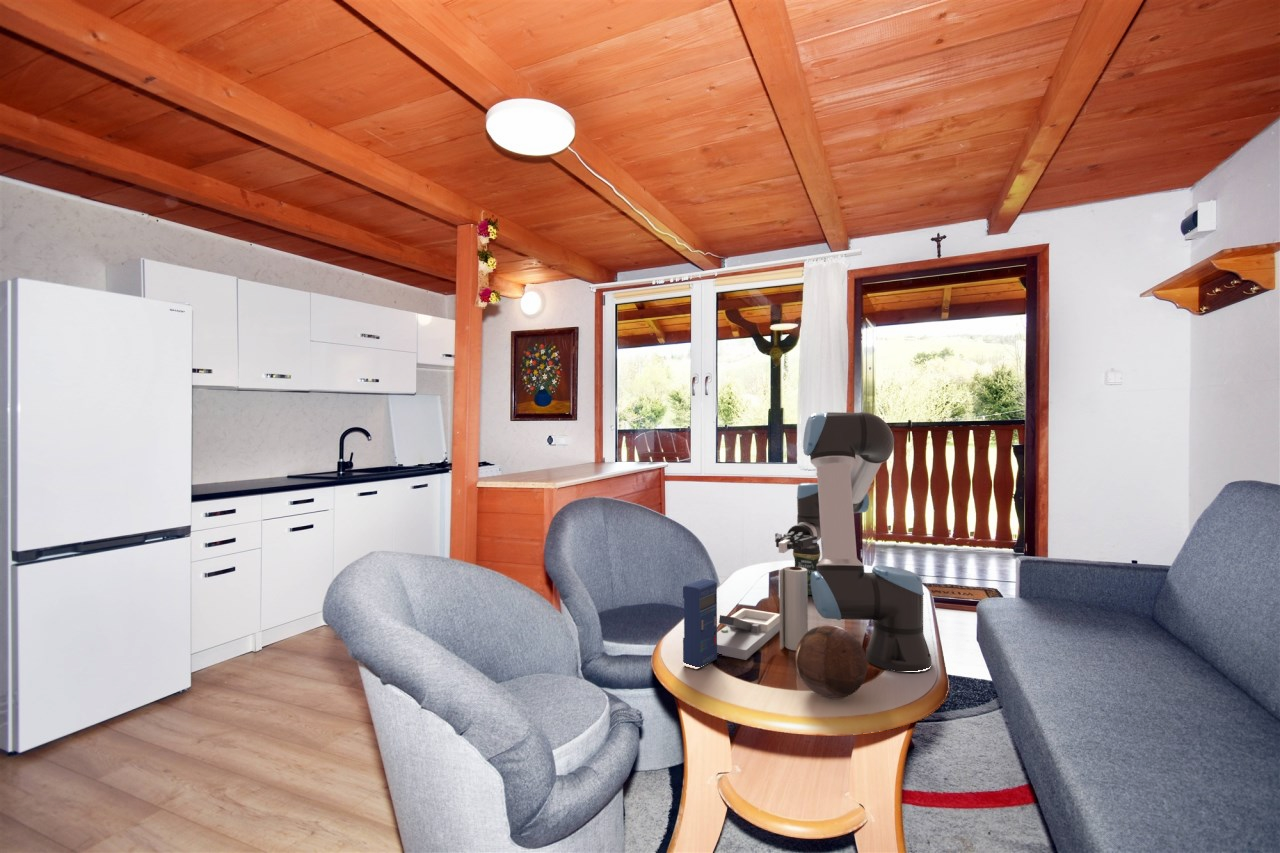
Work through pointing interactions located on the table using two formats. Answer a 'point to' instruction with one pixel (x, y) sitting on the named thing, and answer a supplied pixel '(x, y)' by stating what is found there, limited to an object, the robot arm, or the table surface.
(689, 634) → the electronic device
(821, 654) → the wooden sphere
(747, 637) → the board
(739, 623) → the breaker lever
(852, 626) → the table surface
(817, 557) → the coffee jar
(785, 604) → the paper towel roll
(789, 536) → the robot arm
